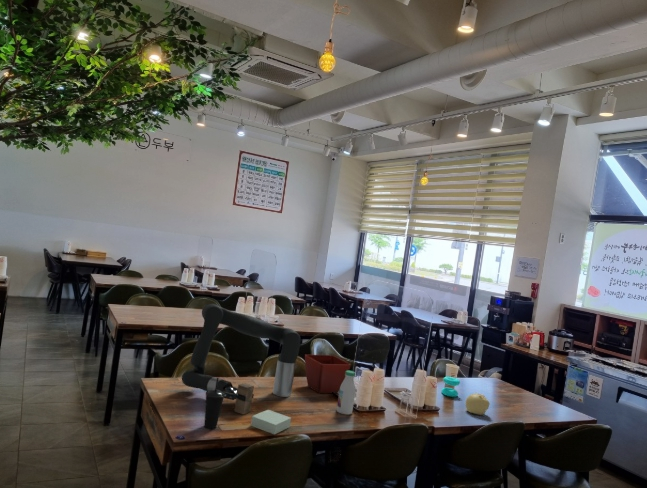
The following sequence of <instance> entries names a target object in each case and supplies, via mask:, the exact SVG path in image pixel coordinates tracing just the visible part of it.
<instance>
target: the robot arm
mask: <svg viewBox="0 0 647 488" xmlns="http://www.w3.org/2000/svg"><path fill="white" fill-rule="evenodd" d="M201 317H202V318H203V325H202V326H203V327H202V330H201V333H200V336H199V338H198V340H197V341H196V344H195V345H194V349H193V350H192V354H191V358H190V364H191V365H192V366H193V370H186V371H185V372H183V373H182V375H181V381H182V383H183V385H185V386H186V387H190V388H194V389H200V390H202V391H204V392H207V391H210V390H215V387H216V380H217V378H219V379H218V385H217V390H219V391H221V392H223V393H224V394H225V396H224V398H223V399H227V400H230V401H236V400H241V401H246V396H243V395H241V394H238V393H237V391H238V386H234V385H233V384H232V382H231V381H228V380H226V379H223V378H220V377H215V376H213V375H208V374H205V373H206V371H205V370H206V369H205V368H206V361H207V358H208V355H209V351H210V349H211V345H212V343H213V339H214V337H215V334H216V332H217V331H218V328H219V326H220V325H223V326H226V327H229V328H231V329H233V330H235V331H237V332H238V333H241V334H243V335H247V336H250V337H254V338H260V339H267V340H268V339H269V340H272V341H274V342H277V343H279V344H281V345H282V346H281V351H280V353H279V354H278V357H277V362H276V363H277V364H276V369H275V374H274V381H273V382H274V383H273V388H272V394H273V395H274V396H278V397H282V398H288V397H290V396H291V395H292V393H293V392H292V390H293V384H294V378H295V376H294V374H295V367H296V361H297V359H298V356H299V352H300V347H301V336H300V334H299V333H298V332H297V331H296V330H294V329H292V328H288V327H283V326H278V325H275V324H272V323H270V322H267V321H266V320H263V319H260V318H257V317H254V316H251V315H248V314H245V313H240V312H235V311H232V310H229V309H226V308H224V307H221V306H219V305H217V304H216V303H209V304H206V305H204V307H203V308H202V309H201ZM254 397H255V395H254V393H253V395H252V400H253V399H254Z"/></svg>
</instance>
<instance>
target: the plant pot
mask: <svg viewBox="0 0 647 488" xmlns="http://www.w3.org/2000/svg"><path fill="white" fill-rule="evenodd" d="M304 368H305V370H304V371H305V377H306V378H305V379H306V383H307V387H309V388H310V389H312V391H313V390H314V391H315V392H317V393H318V394H333V393H332V392H338V391H340V386H341V384H342V382H343V381H344V379H345V373H346V371H350V368H351V363H349V362H347V361H345V360H343V359H341V358H340V357H337V356H335V355H333V354H332V355H331V354H330V355H327V354H304ZM338 393H339V392H338Z"/></svg>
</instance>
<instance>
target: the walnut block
mask: <svg viewBox="0 0 647 488" xmlns="http://www.w3.org/2000/svg"><path fill="white" fill-rule="evenodd" d="M254 387H255V385H253V384H251V383H247V382H243V383H239V384H238V385H237V388H238V391H237V393H238V394H241V395H243V396H246V401H241V400H236V399H235V405H234V409H233V410H234V412H235V413H238V414H241V415H246V414H249V413H250V412H251V408H252V401H253V399H252V395H253V394H254Z"/></svg>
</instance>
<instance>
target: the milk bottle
mask: <svg viewBox="0 0 647 488" xmlns="http://www.w3.org/2000/svg"><path fill="white" fill-rule="evenodd" d="M355 375H356V372H355V371H354V370H349V371H346V373H345V379H344V381H343V382H342V384H341V386H340V390H339V392H338V398H337V404H336V412H338V413H339V414H340V415H346V416H348V415H352V413H353V409H354V404H355V403H354V402H355V396H356V395H355V394H356V384H355V380H354V379H355Z"/></svg>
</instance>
